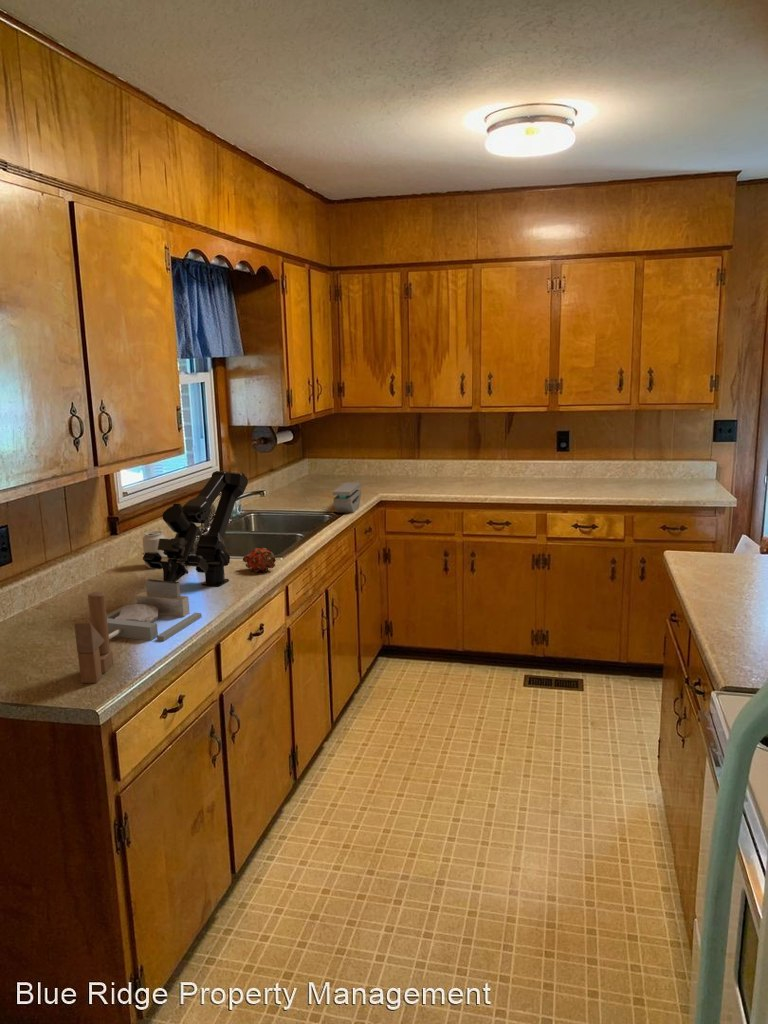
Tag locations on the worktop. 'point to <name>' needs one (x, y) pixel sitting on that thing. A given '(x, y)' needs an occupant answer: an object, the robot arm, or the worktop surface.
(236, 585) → the worktop surface
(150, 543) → the can
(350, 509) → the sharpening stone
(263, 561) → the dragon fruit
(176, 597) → the bar
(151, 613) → the stone block
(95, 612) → the wooden block
